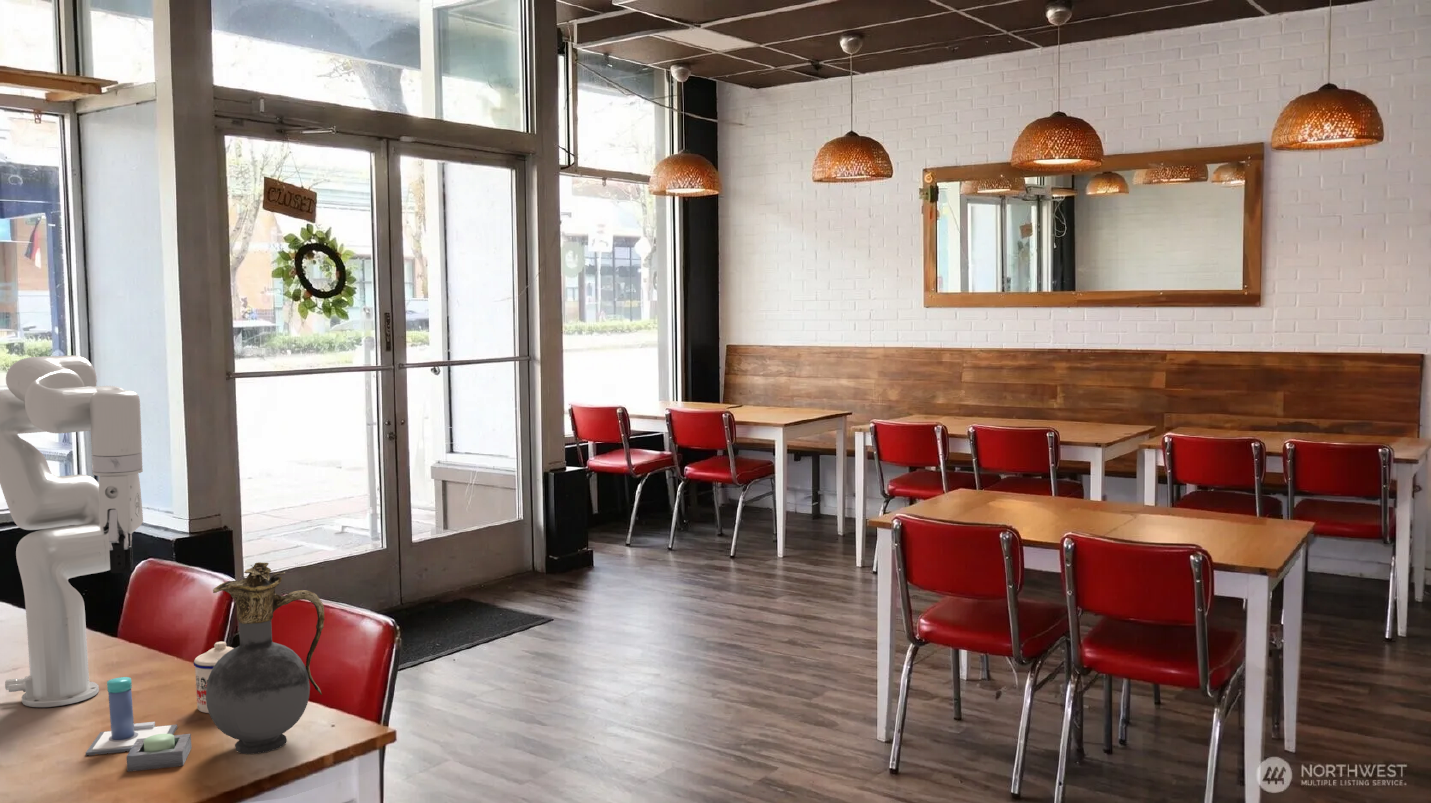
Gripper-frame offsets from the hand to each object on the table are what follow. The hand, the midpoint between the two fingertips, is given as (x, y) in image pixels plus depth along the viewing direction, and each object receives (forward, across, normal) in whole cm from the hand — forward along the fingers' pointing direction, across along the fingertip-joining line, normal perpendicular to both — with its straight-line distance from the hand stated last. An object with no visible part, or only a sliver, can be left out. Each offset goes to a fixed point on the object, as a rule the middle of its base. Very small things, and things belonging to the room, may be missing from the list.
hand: (121, 571), depth 202 cm
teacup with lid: (+28, +7, -15) cm, 32 cm away
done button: (+26, -17, -8) cm, 33 cm away
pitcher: (+27, -15, -25) cm, 39 cm away
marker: (+26, -6, -1) cm, 27 cm away
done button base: (+27, -17, -8) cm, 33 cm away
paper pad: (+27, -7, -2) cm, 28 cm away
